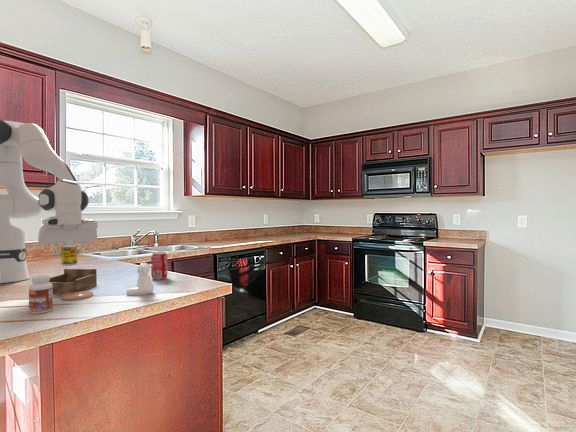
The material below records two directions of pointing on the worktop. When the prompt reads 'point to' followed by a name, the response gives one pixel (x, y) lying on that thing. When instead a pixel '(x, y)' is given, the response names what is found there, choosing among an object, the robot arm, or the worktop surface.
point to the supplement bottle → (69, 253)
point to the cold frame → (74, 280)
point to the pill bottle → (40, 295)
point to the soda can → (159, 265)
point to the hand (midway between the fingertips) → (69, 254)
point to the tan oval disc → (77, 295)
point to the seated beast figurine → (142, 281)
